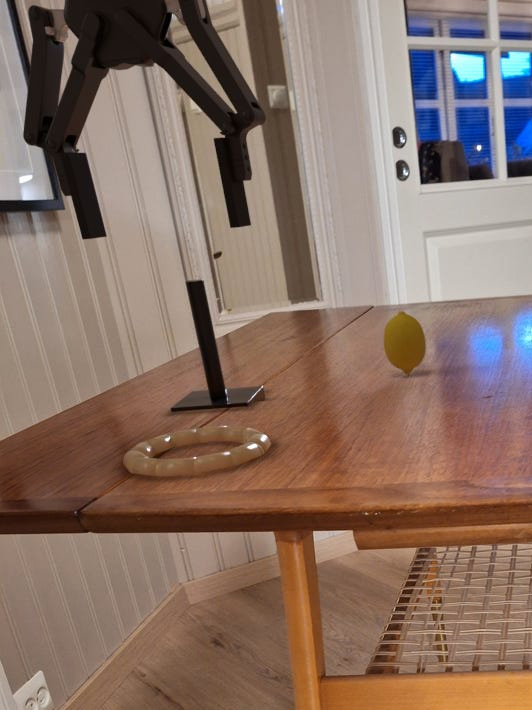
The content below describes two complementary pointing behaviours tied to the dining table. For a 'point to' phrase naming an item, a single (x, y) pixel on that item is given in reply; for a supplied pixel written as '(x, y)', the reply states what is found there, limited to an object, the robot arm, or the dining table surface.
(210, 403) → the black peg stand
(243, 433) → the lying ring
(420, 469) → the dining table surface
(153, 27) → the robot arm
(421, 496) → the dining table surface
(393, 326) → the lemon
